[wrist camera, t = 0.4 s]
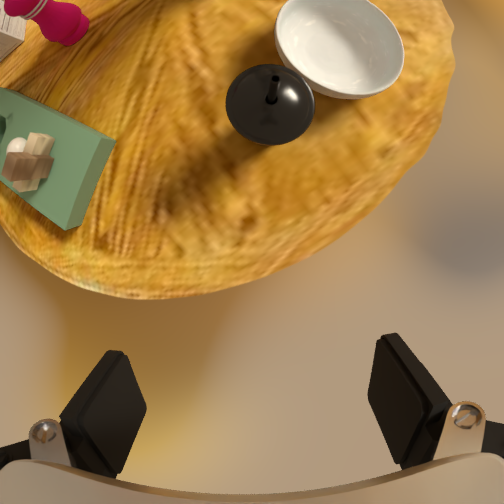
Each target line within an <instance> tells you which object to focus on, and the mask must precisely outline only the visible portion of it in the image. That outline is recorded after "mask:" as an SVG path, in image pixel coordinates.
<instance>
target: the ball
mask: <svg viewBox="0 0 504 504" xmlns="http://www.w3.org/2000/svg"><path fill="white" fill-rule="evenodd" d="M26 142H27V141H26V140H25V139H24V138H22V137H17V138H15V139H13V140H12V141H11V142H10V143H9V144H8V147H7V150H6V155H7V153H8V152H23V150H24V147H25V145H26Z"/></svg>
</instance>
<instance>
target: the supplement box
mask: <svg viewBox="0 0 504 504" xmlns="http://www.w3.org/2000/svg"><path fill="white" fill-rule="evenodd" d="M26 22H27V20H24V19H23V18H21V17H20V16H17V17H11V16H9V15H7V14H6V13H5V11H4V2H3V1H1V0H0V61H2V60H3V59H4V58H5V57H6V56H7V55H8V54H9V53H11V52H12V51H13V50H14V49H15V48H16V47H18V46H19V45H20V44H21V43H22V42H24V37H25V29H26Z"/></svg>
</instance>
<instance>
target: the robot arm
mask: <svg viewBox="0 0 504 504" xmlns="http://www.w3.org/2000/svg"><path fill="white" fill-rule="evenodd" d="M368 401H369V403H370V405H371V408H372V410H373V412H374V414H375V416H376V419H377V421H378V424H379V426H380V428H381V431H382V433H383V436H384V438H385V440H386V443H387V445H388V448H389V450H390V453H391V455H392V457H393V460H394V462H395V463H396V464H400V466H401V469H402V470H401V471H398V472H395V473H391V474H387V475H384V476H380V477H376V478H372V479H367V480H363V481H359V482H354V483H350V484H345V485H339V486H334V487H328V488H322V489H315V490H307V491H299V492H288V493H274V494H250V495H249V494H248V495H247V494H246V495H245V494H241V495H240V494H239V495H238V494H208V493H195V492H186V491H177V490H169V489H162V488H156V487H149V486H145V485H139V484H134V483H130V482H125V481H121V480H117V479H116V476H117V474H120V473H121V471H122V470H123V467H124V465H125V462H126V460H127V457H128V455H129V452H130V450H131V447H132V445H133V442H134V440H135V438H136V435H137V433H138V430H139V428H140V425H141V423H142V421H143V418H144V416H145V413H146V409H147V408H146V403H145V401H144V398H143V396H142V393H141V391H140V388H139V386H138V383H137V381H136V378H135V375H134V373H133V370H132V367H131V364H130V361H129V359H128V357H127V355H124V353H123V352H122V351H113V350H109V351H107V352H106V353H105V354H104V356H103V357H102V358H101V360H100V361H99V362H98V364H97V365H96V366H95V368H94V369H93V370H92V372H91V373H90V374H89V376H88V377H87V378H86V380H85V381H84V382H83V384H82V385H81V386H80V388H79V389H78V390H77V392H76V393H75V395H74V396H73V398H72V399H71V400H70V401H69V403H68V404H67V406H66V407H65V409H64V410H63V411H62V413H61V414H60V416H59V417H60V419H61V421H60V423H58V422H57V421H56V420H53V419H43V420H40V421H38V422H36V423H35V424H34V425H33V426H32V427H31V429H30V431H29V439H28V440H25V441H21V442H18V443H15V444H11V445H8V446H5V447H1V448H0V504H504V424H501V423H496V422H492V421H487V420H486V414H485V412H484V410H483V409H482V408H481V407H480V406H479V405H478V404H476V403H473V402H470V401H462V402H458V403H456V404H454V405H453V404H452V403H451V402H450V400H449V399H448V397H447V396H446V395H445V393H444V392H443V391H442V389H441V388H440V387H439V385H438V384H437V382H436V381H435V380H434V378H433V377H432V376H431V374H430V373H429V372H428V370H427V369H426V368H425V367H424V365H423V364H422V363H421V362H420V361H419V360H418V359H417V357H416V356H415V355H414V353H412V351H411V350H410V348H409V347H408V346H407V345H406V343H405V342H404V341H403V340H402V338H401V337H400V336H399V335H398V334H397V333H391V334H385V335H382V336H381V339H379V340H377V342H376V348H375V354H374V361H373V367H372V372H371V378H370V384H369V388H368Z"/></svg>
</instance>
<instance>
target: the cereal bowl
mask: <svg viewBox="0 0 504 504" xmlns="http://www.w3.org/2000/svg"><path fill="white" fill-rule="evenodd" d="M274 35H275V44H276V48H277V51H278V53H279V56H280V58H281V60H282V62H283V63H284V65H285V66H286V67H287V68H289V69H291V70H293V71H295V72H296V73H298V74H299V75H300V76H301V77H303V78H304V80H305V81H306V82H307V83H308V85H309V86H310V88H311V89H313V90H314V91H317V92H319V93H321V94H324V95H327V96H330V97H333V98H339V99H361V98H367V97H370V96H373V95H376V94H378V93H380V92H382V91H384V90H385V89H387V88H389V87H390V86H391V85H392V84H393V83H394V82H395V81H396V80H397V78H398V77H399V75H400V73H401V71H402V68H403V64H404V48H403V43H402V40H401V37H400V35H399V33H398V31H397V29H396V27H395V26H394V24H393V23H392V22H391V20H390V19H389V18H388V17H387V16H386V15H385V14H384V13H383V12H382V11H381V10H380V9H379V8H378V7H376V6H375V5H374V4H372V3H371V2H369V1H368V0H288V1H287V2H286V3H285V4H284V5H283V6H282V8H281V9H280V11H279V13H278V16H277V19H276V23H275V29H274Z"/></svg>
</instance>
